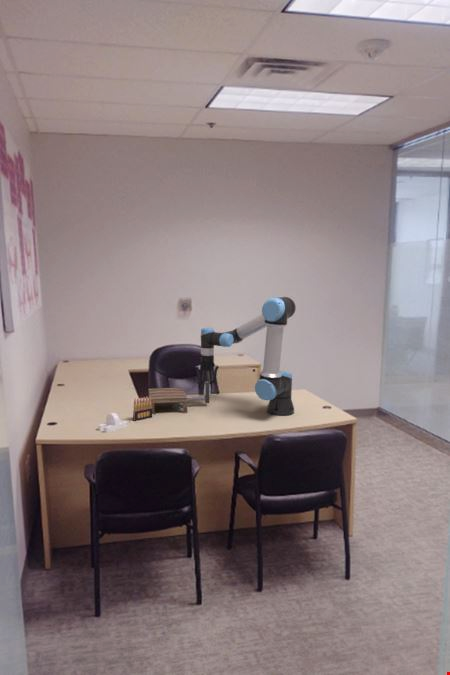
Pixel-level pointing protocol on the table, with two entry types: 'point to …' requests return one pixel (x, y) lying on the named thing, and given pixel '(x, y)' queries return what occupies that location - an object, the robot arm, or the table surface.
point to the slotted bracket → (112, 423)
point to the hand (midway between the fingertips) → (207, 394)
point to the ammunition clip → (142, 409)
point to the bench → (168, 396)
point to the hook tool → (204, 397)
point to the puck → (177, 406)
